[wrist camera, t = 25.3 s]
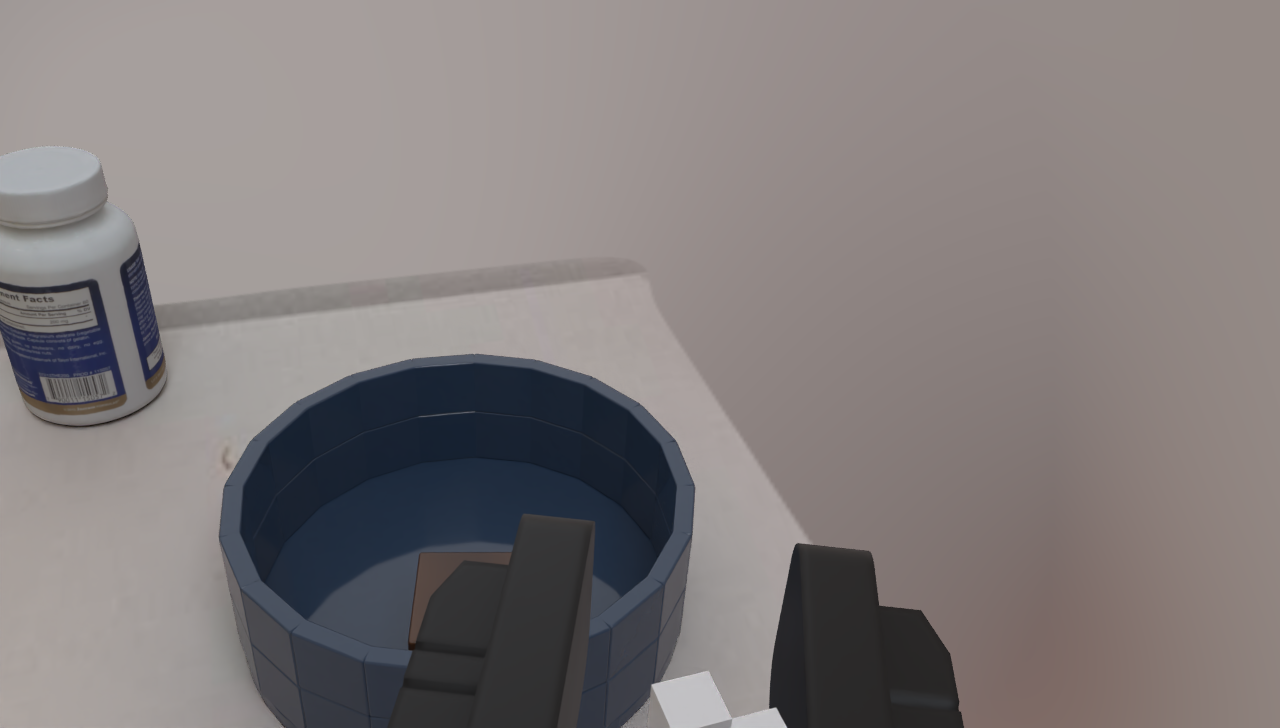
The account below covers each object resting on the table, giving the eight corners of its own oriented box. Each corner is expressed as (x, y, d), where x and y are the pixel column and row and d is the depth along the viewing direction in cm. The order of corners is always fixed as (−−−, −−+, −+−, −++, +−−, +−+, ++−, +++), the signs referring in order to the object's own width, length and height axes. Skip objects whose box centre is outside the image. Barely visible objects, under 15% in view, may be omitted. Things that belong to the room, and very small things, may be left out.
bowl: (689, 481, 43) (701, 375, 40) (667, 813, 31) (682, 697, 28) (324, 443, 43) (311, 336, 40) (167, 757, 31) (133, 637, 29)
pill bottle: (107, 338, 48) (53, 125, 42) (197, 379, 46) (154, 161, 40) (-8, 400, 44) (-83, 174, 38) (86, 448, 42) (21, 217, 36)
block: (535, 630, 35) (537, 550, 33) (535, 722, 33) (536, 641, 31) (424, 631, 35) (419, 551, 33) (413, 724, 32) (406, 643, 30)
